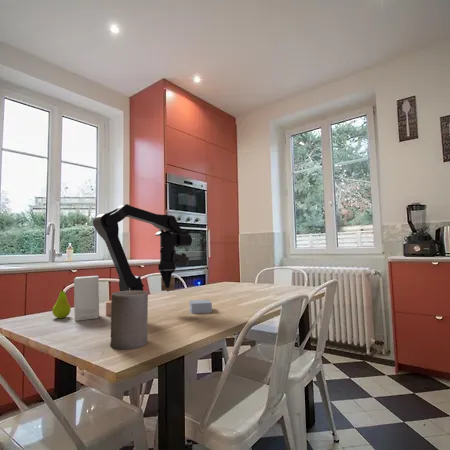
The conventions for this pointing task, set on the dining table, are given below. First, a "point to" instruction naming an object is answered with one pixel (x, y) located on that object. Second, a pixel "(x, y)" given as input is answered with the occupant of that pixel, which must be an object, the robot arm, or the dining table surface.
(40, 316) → the dining table surface
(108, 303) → the terracotta cube
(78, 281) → the skincare box
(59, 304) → the fruit
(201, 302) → the slate slab
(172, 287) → the walnut cube
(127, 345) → the pillar candle
